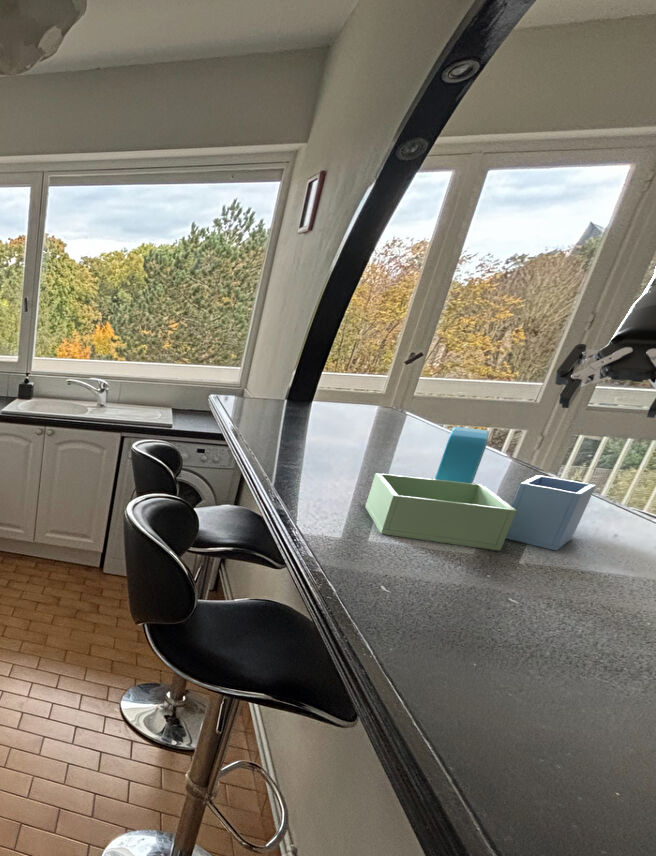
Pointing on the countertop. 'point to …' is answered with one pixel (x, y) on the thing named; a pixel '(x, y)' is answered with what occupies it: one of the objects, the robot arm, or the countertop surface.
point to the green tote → (439, 511)
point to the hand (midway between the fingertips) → (607, 409)
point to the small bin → (548, 511)
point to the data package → (462, 455)
